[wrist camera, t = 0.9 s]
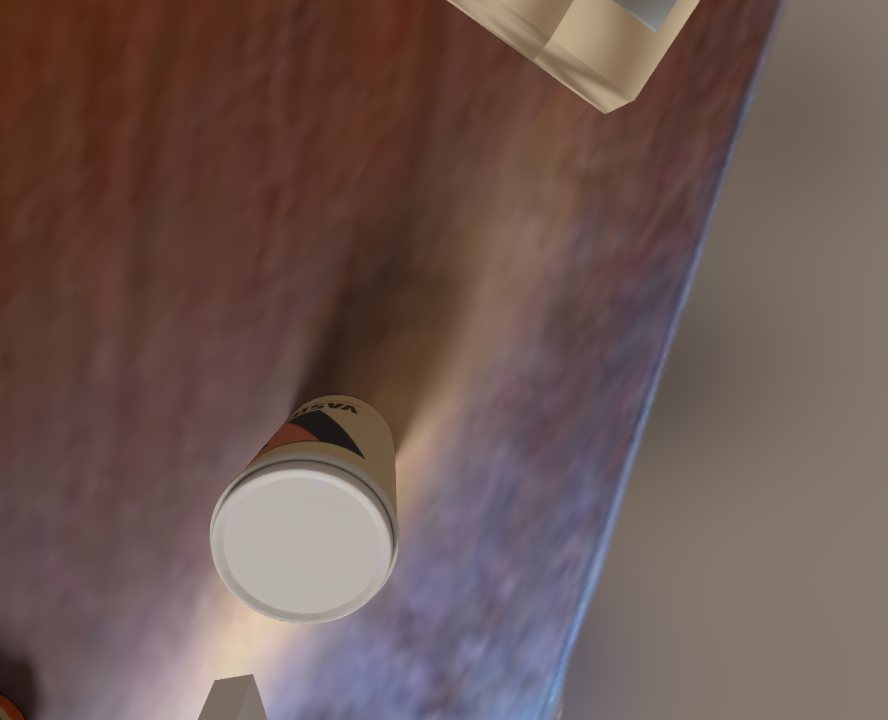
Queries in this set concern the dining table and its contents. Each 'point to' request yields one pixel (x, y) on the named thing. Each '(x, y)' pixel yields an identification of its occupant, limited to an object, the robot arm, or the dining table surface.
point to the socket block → (587, 40)
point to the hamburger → (9, 710)
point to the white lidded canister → (312, 515)
